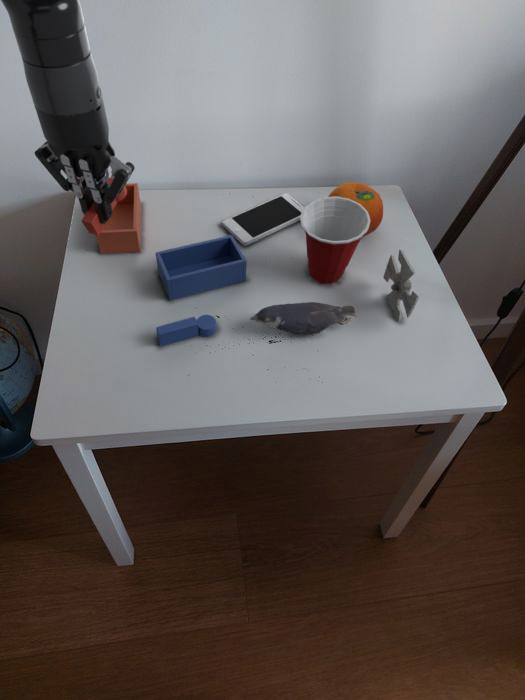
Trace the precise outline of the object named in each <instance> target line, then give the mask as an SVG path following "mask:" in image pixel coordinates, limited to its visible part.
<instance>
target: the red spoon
mask: <svg viewBox="0 0 525 700" xmlns="http://www.w3.org/2000/svg"><path fill="white" fill-rule="evenodd" d="M113 180H114V179H112V178H111V176H109V178H108V182H109V186H110V185H111V183H112V182H113ZM126 194H127V190H126V187H125V186H124V188H123V190H122V192H121V193H120V194H119V195H118V196H117V197H116V198H115V200H114V201H113V202H112V203H111V206H112V210H113V209H114V207H115V206H116V204H117V201H120V200H122V199H124V198H125V196H126ZM81 223H82V224H83V226H84V228H85V229H86V231H87V233H88V234H91V235H95V236H96V235H97V236H99V234H100V233H101V231H102V229H103V227H104V225H105V224H106V223H105V224H102V223H100V221H99V217H98V214H97V213H96V211H95V207H94V203H93V204H92V206H91V207H90V209H89V211H87V212H86V213H85V215H84V214H83V217H82V219H81Z"/></svg>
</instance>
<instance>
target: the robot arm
mask: <svg viewBox="0 0 525 700" xmlns="http://www.w3.org/2000/svg"><path fill="white" fill-rule="evenodd" d="M0 2H1V3H2V5H3V7H4V8H5V10H6V12H7V14H8V17H9V21H10V24H11V27H12V31H13V34H14V37H15V40H16V44H17V47H18V50H19V53H20V56H21V60H22V64H23V71H24V75H25V80H26V83H27V87H28V90H29V93H30V96H31V99H32V102H33V105H34V109H35V112H36V115H37V118H38V121H39V125H40V128H41V131H42V134H43V137H44V138H45V140H46V141H45V142H44V143H43V144H42V145H41V146H39V147H38V148H37V149H36V150H35V151H34V156H35V157H36V159H38V161H39V162H40V163H41V165H42V166H43V168H45V169H46V171H47V172H48V173H49V174H50V175H51V177H52V178H53V179H54V180H55V182H57V184H58V186H60V188H61V189H62V190H63V191H65V192H69V191H71V192H72V193H73V194H74V195H75V197H76V198H78V201H79V205H80V208H81V212H82V213H83V216H84V215H85V213H86V212H87V211H89V209H90V207H91V206H92V204H93V203H94V207H95V211H96V213H97V214H98V217H99V221H100V223H102V224H105V223H106V222H107V221H108V220H109V219H110V217H111V216H112V215H113V210H112V206H111V203H112V202H113V201H114V200H115V198H116V197H117V196H118V195H119V194H120V193H121V192H122V190H123V188H124V186H125V185H126V184H128V181H129V180H130V178H131V176H132V174H133V173H134V171H135V169H136V168H135V165H134V164H133V163H132V162H130V161H127V162H125V163H124V162H123V161H122V160H120V159H119V158H118V157H117V156H116V152H115V149H114V148H113V146H112V145H111V143H110V141H109V140H110V139H109V137H110V134H109V131H110V126H109V122H108V118H107V117H108V116H107V112H106V107H105V101H104V97H103V94H102V88H101V84H100V79H99V74H98V69H97V67H96V63H95V61H94V58H93V55H92V51H91V47H90V42H89V37H88V32H87V27H86V23H85V18H84V13H83V10H82V5H81V2H80V0H0ZM108 168H110V169H111V172H110V171H109V169H108ZM62 172H63V173H64V174H65V176H66V177H65V176H64V175H63V173H62ZM110 173H111V176H110ZM110 177H111V178H112V179H114V180H113V182H112V183H111V185H110V186H109V182H108V178H110Z"/></svg>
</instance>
